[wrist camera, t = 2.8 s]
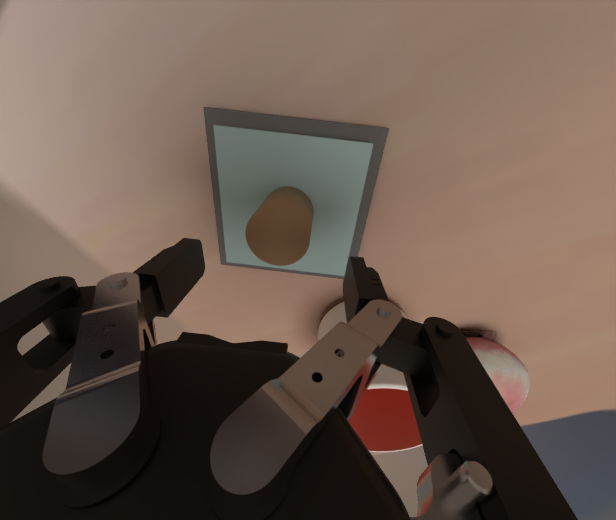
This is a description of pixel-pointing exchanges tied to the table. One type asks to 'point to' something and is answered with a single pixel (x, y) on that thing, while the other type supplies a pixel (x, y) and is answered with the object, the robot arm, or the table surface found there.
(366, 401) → the cup
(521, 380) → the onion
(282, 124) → the mat
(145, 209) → the table surface
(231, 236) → the lid
